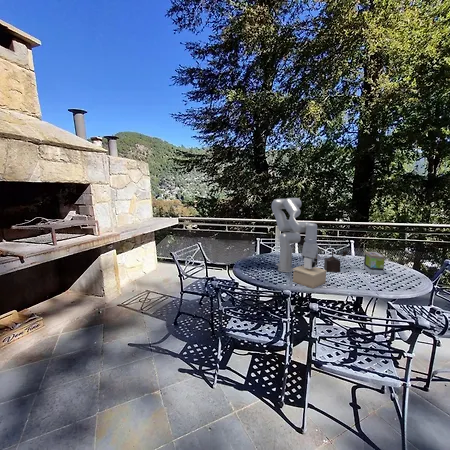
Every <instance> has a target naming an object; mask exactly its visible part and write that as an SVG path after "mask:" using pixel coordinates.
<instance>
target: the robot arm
mask: <svg viewBox="0 0 450 450" xmlns="http://www.w3.org/2000/svg"><path fill="white" fill-rule="evenodd" d="M302 203H303V202H302V200H301V199H300V198H299V197H287V198H276V199H273V201H272V202H271V210H272V213H273V216H274V217H275V221H276V225H277V229H278V230H279V232H281V233H280V234H279V235H278V240H279V262H278V263H276V264H275V265H276V266H277V271H278V272H282V273H292V272H293V271H294V270H293V267H292V266H293V265H292V263H293V248H292V246H291V244H293V245H294V244H298V243H300V242H301V237H302V236H301V233H305V236H304V238H303V241H304V242H303V246H302V250H301V251H302V252H301V253H300V256H301V257H302V258H303V259H304V258H305V257H310V258H312V260H313V262H312V268H313V267H315V264H316V261H317V262H318V261H319V260H320V259H321V257H320V255H319V245H318V243H317V239H318V238H317V237H318V225H317V223H312V222H310V221H299V222H298V221H297V220H296V218H298V217H299V216H300V215H301V214H302V213H301V211H302V210H301V209H300V208H301V207H302ZM283 210H286V212H287V213H288V215H289V218H287V216H286V214H285V212H284V211H283ZM316 257H317V258H316Z"/></svg>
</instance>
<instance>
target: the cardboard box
mask: <svg viewBox="0 0 450 450" xmlns="http://www.w3.org/2000/svg"><path fill="white" fill-rule="evenodd" d="M292 272H293V275H292V277H293V278H292V282H293V283H295V284H299V285H302V286H304V287H308V288H311V289H315V288H317V287H320V286H322V285H324V284H325V283H326V282H327V281H326V280H327V272H324V273H322V274H320V275H317V276H315V277H312V276H309V275H306V274H303V273H300V272H297V271H295V270H293V271H292Z"/></svg>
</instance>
